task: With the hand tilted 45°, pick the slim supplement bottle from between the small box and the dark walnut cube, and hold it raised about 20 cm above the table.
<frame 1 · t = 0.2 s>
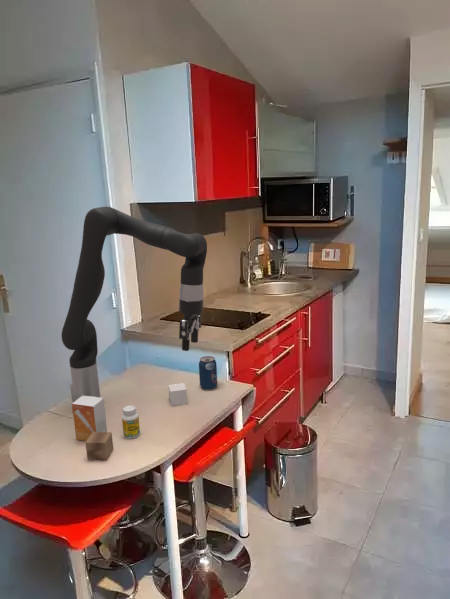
hand: (190, 346, 155), 28 cm above the table, tool pointing down, fingers open, 8 cm apart
white cube: (178, 402, 179), on the table
walnut cube: (100, 454, 146), on the table
supplement bottle: (131, 435, 157), on the table
small box: (92, 437, 157), on the table
soda can: (208, 387, 190), on the table
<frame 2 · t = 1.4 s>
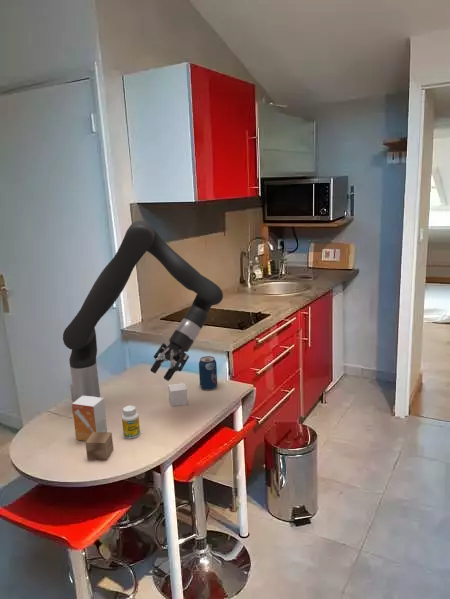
hand: (159, 375, 160), 17 cm above the table, tool tilted 45°, fingers open, 8 cm apart
nothing on the table moved.
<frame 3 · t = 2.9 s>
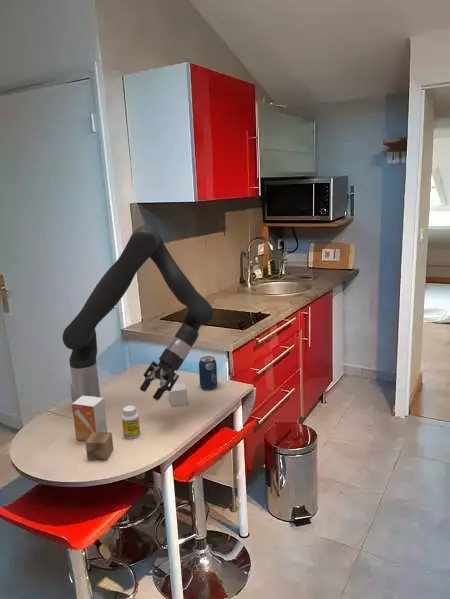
hand: (148, 394, 158), 12 cm above the table, tool tilted 45°, fingers open, 8 cm apart
nothing on the table moved.
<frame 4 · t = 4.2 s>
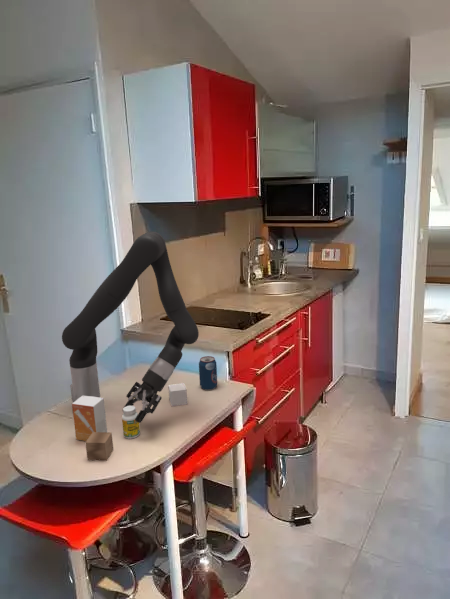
hand: (130, 416, 156), 6 cm above the table, tool tilted 45°, fingers open, 8 cm apart
nothing on the table moved.
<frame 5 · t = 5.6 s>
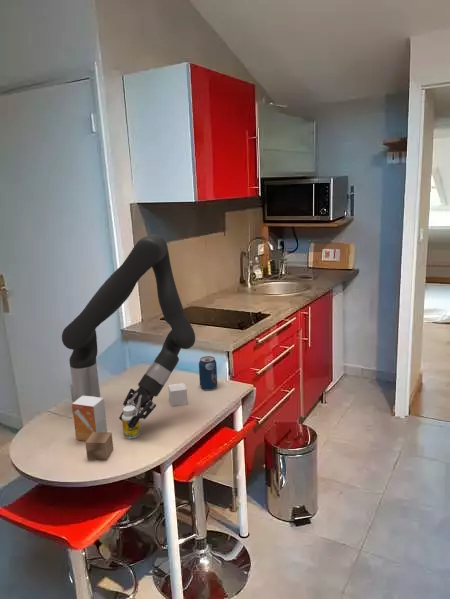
hand: (125, 423, 155), 5 cm above the table, tool tilted 45°, fingers closed on supplement bottle, 5 cm apart
supplement bottle: (131, 435, 157), on the table, touching gripper
everything else where it was.
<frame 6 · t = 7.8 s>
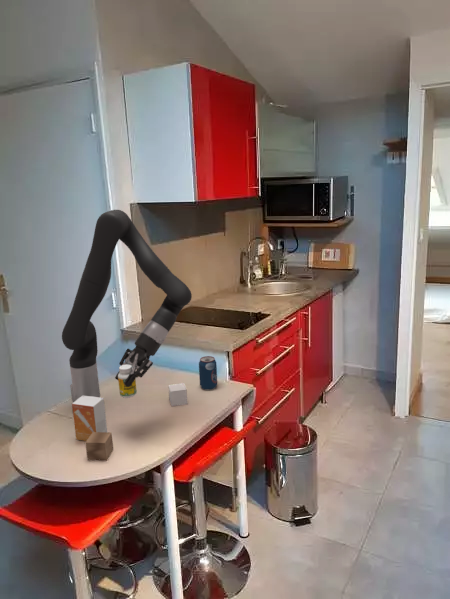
hand: (121, 382, 151), 19 cm above the table, tool tilted 45°, fingers closed on supplement bottle, 5 cm apart
supplement bottle: (128, 395, 154), point 14 cm above the table, touching gripper
everything else where it was.
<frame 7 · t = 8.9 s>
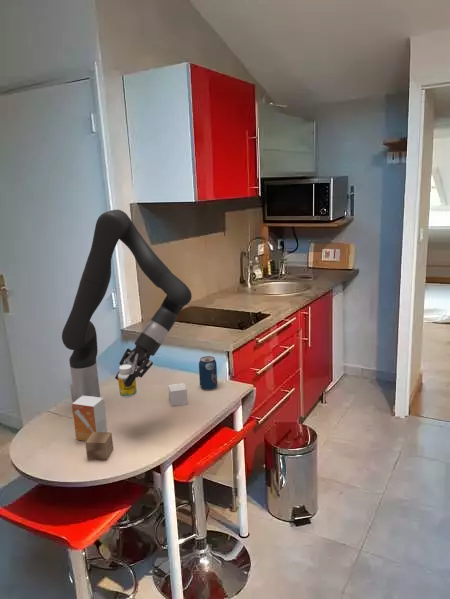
hand: (121, 382, 151), 19 cm above the table, tool tilted 45°, fingers closed on supplement bottle, 5 cm apart
supplement bottle: (128, 395, 154), point 14 cm above the table, touching gripper
everything else where it was.
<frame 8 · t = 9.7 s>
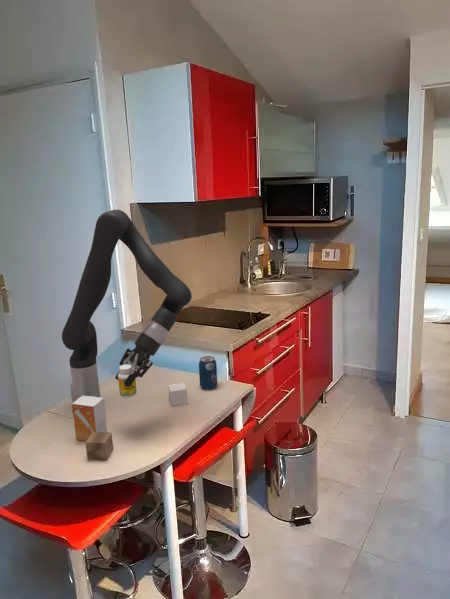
hand: (121, 382, 151), 19 cm above the table, tool tilted 45°, fingers closed on supplement bottle, 5 cm apart
supplement bottle: (128, 395, 154), point 14 cm above the table, touching gripper
everything else where it was.
at the end: the gripper is holding supplement bottle; supplement bottle point 14.1 cm above the table; small box moved 0.3 cm from its start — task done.
